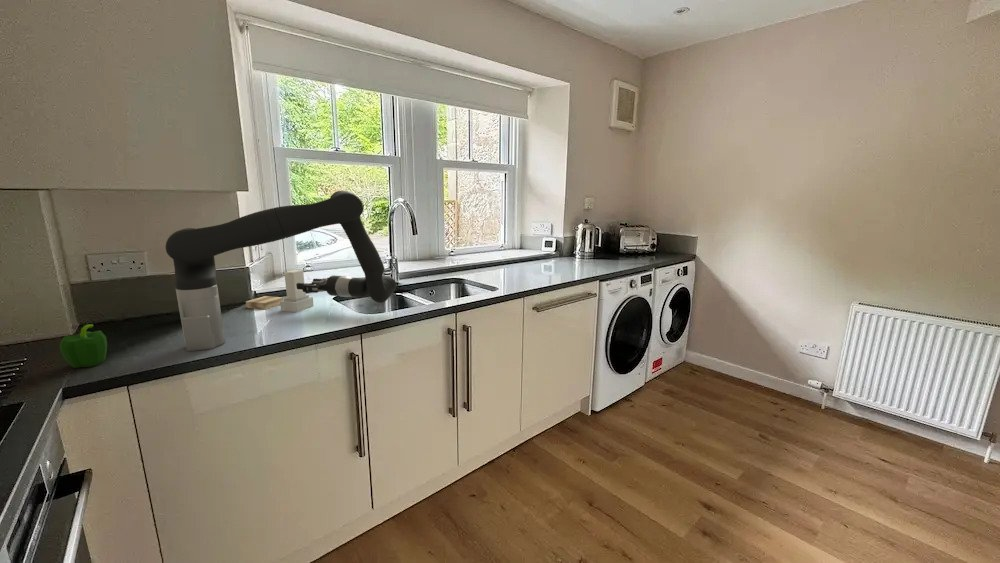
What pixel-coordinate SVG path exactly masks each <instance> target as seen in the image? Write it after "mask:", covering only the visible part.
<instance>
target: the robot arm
mask: <svg viewBox="0 0 1000 563" xmlns="http://www.w3.org/2000/svg"><path fill="white" fill-rule="evenodd" d="M363 211H364V203H363V201H362V200H361V198H360V197H358V196H357V195H356V194H355V193H353V192H350V191H347V190H338V191H335V192H333V193H332V194H331V195H330V197H329V198H327V199H324V200H320V201H319V202H318V201H317V202H314V203H313V202H312V203H307V204H294V205H293V204H292V205H291V204H290V205H284V206H277V207H272V208H267V209H263V210H259V211H255V212H253V213H249V214H245V215H243V216H240V217H238V218H236V219H233V220H230V221H227V222H224V223H220V224H216V225H211V226H206V227H200V228H192V227H186V228H183V229H179V230H176V231H174V232H173V233H172V234H170V235H169V237H168V238H167V240H166V242H165V252H166V253H167V255H168V256H169V258H171V259H172V260H173V266H174V278H173V282H174V287H175V292H176V294H175V295H176V299H177V303H178V304H177V305H178V310H179V315H180V317H179V318H180V322H181V326H182V333H183V340H184V346H185V349H186V351H187V352H192V351H193V352H194V351H195V352H196V351H201V350H202V351H203V350H212V349H213V350H214V349H215V348H216V347H218V346H221V345H223V344H225V343H226V338H225V329H224V324H223V322H224V321H223V315H222V310H221V302H220V296H219V290H218V282H217V268H216V267H217V266H216V260H215V256H217V255H220V254H224V253H227V252H229V251H233V250H238V249H242V248H250V247H254V246H261V245H264V244H267V243H268V244H269V243H273V242H277V241H281V240H284V239H288V238H292V237H294V236H297V235H301V234H304V233H308V232H309V231H310V232H311V231H313V230H316V229H318V228H323V227H327V226H333V225H337V224H338V225H339V224H340V226H341V227H342V229H343V231H344V233H345V234H346V237H347V238H348V241H349V242H350V244H351V247H352V249H353V251H354V255H355V256H356V258H357V261H358V263H359V265H360V267H361V269H362V272H363V274H364V277H353V276H347V275H331V276H328V277H326V278H313V279H312V281H311V282H309V283H307V282H306V283H305V282H304V283H297V284H296V286H297V289H302V290H303V292H305V293H314V294H315V293H319V292H326V293H327V294H328V295H329V296H334V297H344V298H350V297H351V298H352V297H354V298H366V297H370V299H371V300H372V301H374V302H375V303H378V304H380V303H381V304H383V303H385V302H386V301H387V300H388V299H389V298H390V297H391V296H392V294H393V293H394V292H395V291H396V289H397V285H398V284H397V282H396V280H395V279H394V278H393V277H391V276H388V275H383V274H384V271H385V266H384V263H383V261H382V258H381V256H380V254H379V252H378V250H377V247H376V246H375V244H374V242H373V241H372V239H371V238H370V236H369V234H368V233H367V230H366V228H365V226H364V224H363V222H362V219H361V216H362V214H363V213H364V212H363Z"/></svg>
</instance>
